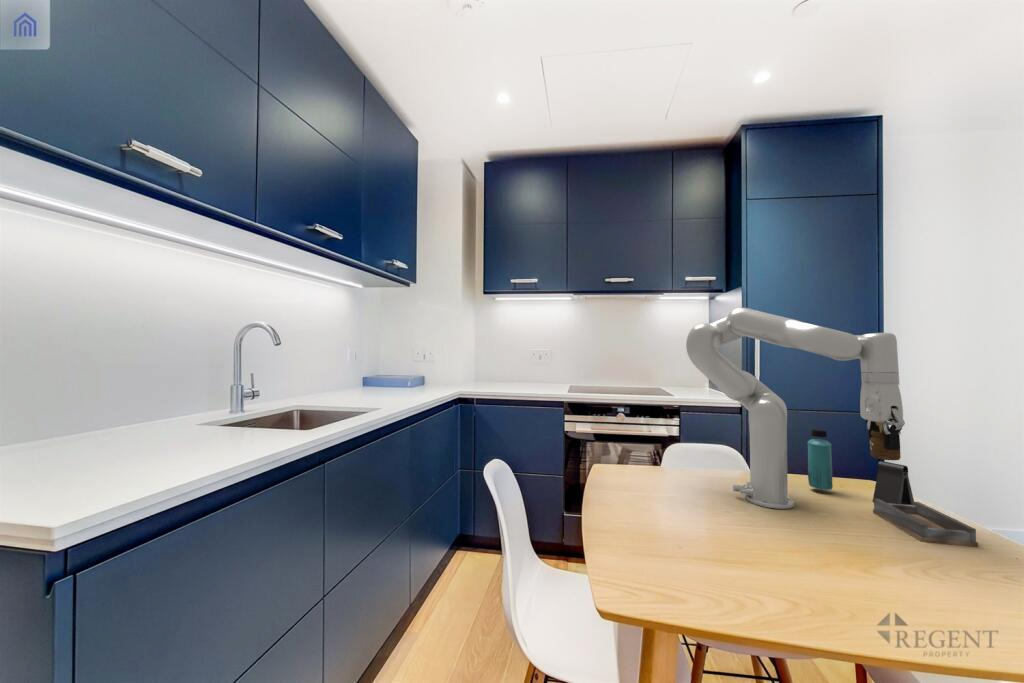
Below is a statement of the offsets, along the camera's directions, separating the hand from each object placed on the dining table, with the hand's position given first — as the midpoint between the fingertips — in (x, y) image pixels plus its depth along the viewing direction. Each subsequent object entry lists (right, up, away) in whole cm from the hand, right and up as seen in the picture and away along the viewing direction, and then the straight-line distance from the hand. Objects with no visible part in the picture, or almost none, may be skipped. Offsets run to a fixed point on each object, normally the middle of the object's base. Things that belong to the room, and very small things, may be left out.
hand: (884, 446), depth 108 cm
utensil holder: (0, -3, 0) cm, 3 cm away
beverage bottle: (+1, -21, +24) cm, 32 cm away
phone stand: (+15, -21, +13) cm, 29 cm away
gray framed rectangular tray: (+6, -20, -4) cm, 21 cm away
